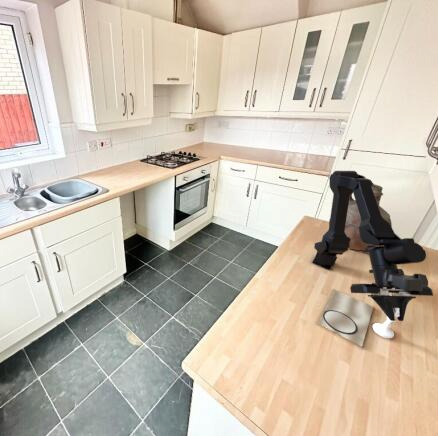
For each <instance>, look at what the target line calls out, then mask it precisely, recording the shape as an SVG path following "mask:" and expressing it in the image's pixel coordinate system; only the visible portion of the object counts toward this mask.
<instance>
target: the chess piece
mask: <svg viewBox="0 0 438 436" xmlns="http://www.w3.org/2000/svg"><path fill="white" fill-rule="evenodd" d="M394 309H395V311H394V310H393V311H394V317H395V321H391V320H390V319H389V318H388V317H387V316H386V321H385V322H384V323H381V322H375V323H374V324H372V330H373V331H374V332H375V333H376V334H377V335H379V336H380V337H382V338H385V339H393V338H394V336H395V333H394V331H393V329H392V328H391V325H392V323H396V322H397V317H399V316H400V315H399V313H400V312H399V310H400V309H399V308H394Z"/></svg>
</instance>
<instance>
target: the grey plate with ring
mask: <svg viewBox="0 0 438 436" xmlns="http://www.w3.org/2000/svg"><path fill="white" fill-rule="evenodd" d="M373 310H374V306H372V305H370V304H368V303H365V302H363V301H361V300H359V299H356V298H354V297H352V296H351V295H348V294H345V293H343V292H341V291H339V290H336V289H335V290H334V291H333V293H332V295H331V297H330V299H329V301H328V303H327V305H326V307H325V310H324V311H323V313H322V315H321V317H320V319H319V322H318V325H320V326H322V327H324V328H325V329H327V330H329V331H331V332H333V333H335V334H336V335H338V336H339V337H342V338H344V339H346V340H348V341H349V342H351V343H353V344H354V345H357V346H359V347H361V348H362V347H363V346H364V342H365V339H366V335H367V331H368V328H369V324H370V320H371V317H372V314H373Z"/></svg>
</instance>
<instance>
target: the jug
mask: <svg viewBox="0 0 438 436" xmlns="http://www.w3.org/2000/svg"><path fill="white" fill-rule="evenodd" d="M383 189H384V188H383V187H382V186H381V185H378V184H375V183H374V182H372V190H373V193H374V196H375V199H376V202H377V204H378V207H379V210H380V213H381V216H382V218H383V219H385V220H386V221H387V222H388V223H389V224H390V225H391V227H392V228H393V224H392V219H391V215H390V214H389V212H388V211H386V210H385V209H384V208H383V207H381V205H380V202H381V199H382V196H384V193H383ZM353 195H354V194H353V192H352V193H351V194H350V198H349V205H348V211H347V218H346V225H345V234H346V235H347V237H350V243H349V246H350V248H348V250H349V249H350V250H355V251H362V250H364V249H366V247H367V246H374V245H371V244H366V243H364V242H362V240H361V238H360V233H359V226H360V224H361V217H360V213H359V210H358V207H357V203H356V200H355V198H354V197H353ZM329 223H330V219H329V221H328V224H329ZM375 247H377V246H375Z"/></svg>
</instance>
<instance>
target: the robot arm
mask: <svg viewBox="0 0 438 436" xmlns="http://www.w3.org/2000/svg"><path fill="white" fill-rule="evenodd" d="M328 180H329V189H330V190H331V192H332V194H333V195H332V196H333V197H332V201H331V209H330V210H331V211H330V215H329V216H330V217H329V220H330V223H329V222H328V229H327V231H326V232H325V233H324V234H323V235H322V238H321V241H318V242H315V243H314V245H313V246H314V247H313V249H315V250H316V253H315V256H314V258H313V260H312V262H311V263H312V264H314V265H315V266H317V267H322V268H323V269H325V270H329V271H330V270H331V269H332V268H333V267H334V266H335V264H336V262H337V259H338V257H339V256H342V255H343V254H345V253H346V252H348V250H349V248H350V246H349V243H350V237H347V235H346V234H345V225H346V218H347V211H348V205H349V198H350V194H351V193H352V192H353V194H352V195H353V196H354V197H353V198H354V200H356V203H357V207H358V210H359V213H360V217H361V224H360V226H359V233H360V238H361V240H362V242H364V243H366V244H371V245H374V246H367V247H366V249H362V250H363V251H362V253H363V254H368V257H369V262H370V265H371V266H370V267H371V269H369V270H368V272H369V274H372V275H373V279H374V282H372V283H351V285H350V288H349V289H350V293H351V294H367V297H370V298H371V299H372V300H373V301H374V302H375V303H376V304H377V306H378V307H379V308H380V309H381V310H382V312H383V313H384V314H385V316H386V317H388V318H389V319H390V320H391V321H395V319H396V320H398V321H400V322H404V319H405V314H406V311H407V307H408V304H409V302H411V301H412V300H413V299H416V298H417V296H429V297H431V296H432V297H433V296H434V293H433V289H432V288H431V287H430V286H429V278H428V277H427V275H426V274H423V273H413V274H412V275H410V274H409V275H408V274H405V272H404V270H403V269H402V268H399V267H398V265H399V266H400V265H408V264H419V263H422V262H424V261H425V260H426V258H427V252H426V250H425V249H424V247H423V246H422V245H421V244H419V243H417V242H415V239H414V238H413V237H404V238H401V237H400V236H399V235H398V234H397V233H395V231H394V229H393V226H392V227H391V225H390V224H389V223H388V222H387V221H386V220H385V219H383V218H382V216H381V213H380V210H379V207H378V204H377V202H376V199H375V196H374V193H373V190H372V183H373V181H372V179H369V178H367V177H366V176H365V175H363V174H359V173H358V172H357V171H355V170H335V171H333V172H332V173H331V174H330V176H329V178H328ZM375 246H377V247H375ZM390 294H391V295H390ZM394 308H399V309H400V310H399V312H400V313H399V315H400V316H399V317H397V318H395V317H394V311H395V309H394Z"/></svg>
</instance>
